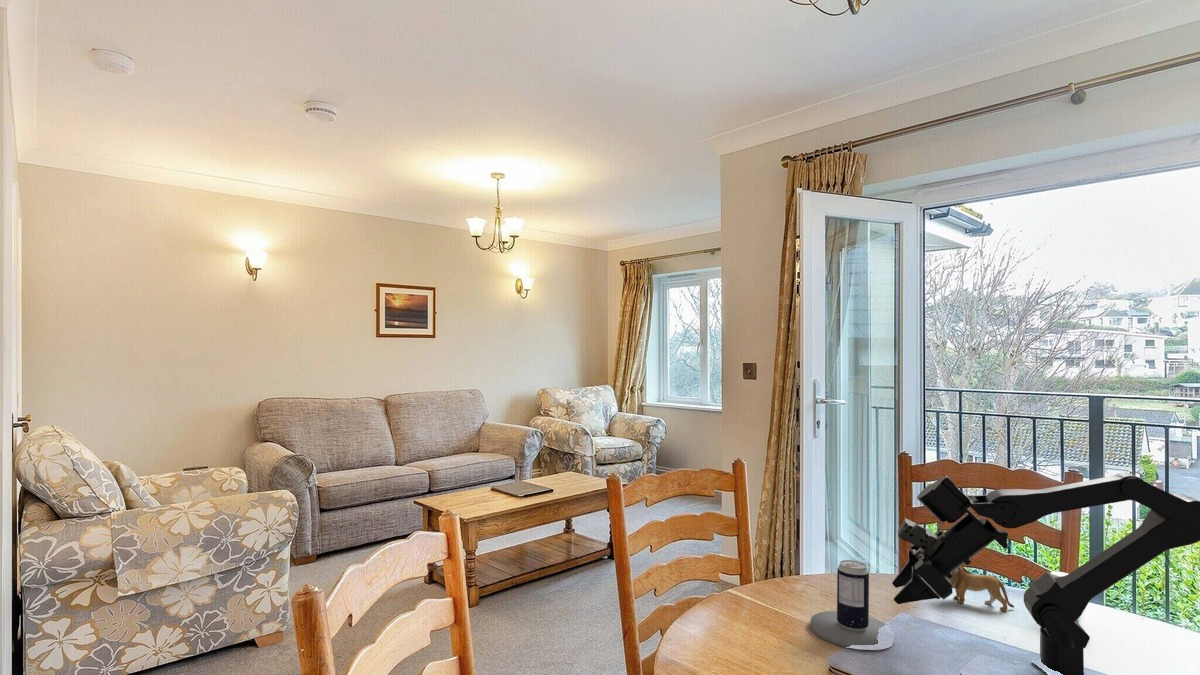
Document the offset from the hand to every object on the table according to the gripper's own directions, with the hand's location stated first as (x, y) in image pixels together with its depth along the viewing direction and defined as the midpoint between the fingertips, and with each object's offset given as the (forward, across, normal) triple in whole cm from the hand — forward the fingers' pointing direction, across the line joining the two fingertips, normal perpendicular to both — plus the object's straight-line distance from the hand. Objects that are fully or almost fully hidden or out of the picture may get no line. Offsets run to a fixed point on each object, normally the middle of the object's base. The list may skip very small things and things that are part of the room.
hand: (894, 593), depth 115 cm
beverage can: (+11, 0, 0) cm, 11 cm away
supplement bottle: (-16, -26, +29) cm, 42 cm away
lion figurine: (-5, -29, +18) cm, 34 cm away
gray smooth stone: (+12, 0, +1) cm, 12 cm away
